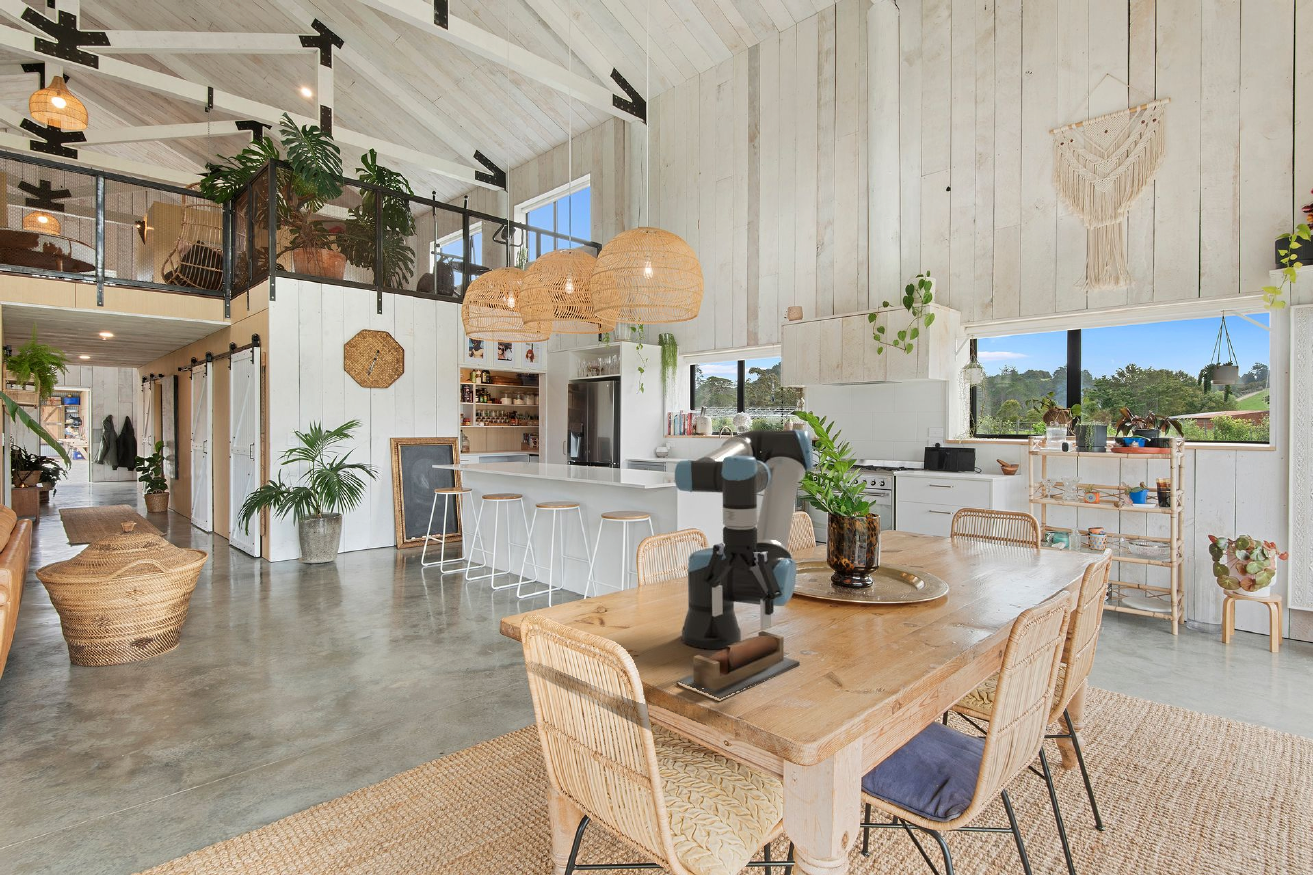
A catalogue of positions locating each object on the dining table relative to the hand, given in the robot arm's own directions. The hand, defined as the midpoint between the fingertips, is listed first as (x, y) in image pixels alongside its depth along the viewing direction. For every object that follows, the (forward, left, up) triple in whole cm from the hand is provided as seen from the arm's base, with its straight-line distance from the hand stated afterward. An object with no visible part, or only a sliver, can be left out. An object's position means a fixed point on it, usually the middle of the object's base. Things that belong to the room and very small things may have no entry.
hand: (740, 621), depth 146 cm
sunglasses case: (0, -1, -9) cm, 9 cm away
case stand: (0, 0, -12) cm, 12 cm away
